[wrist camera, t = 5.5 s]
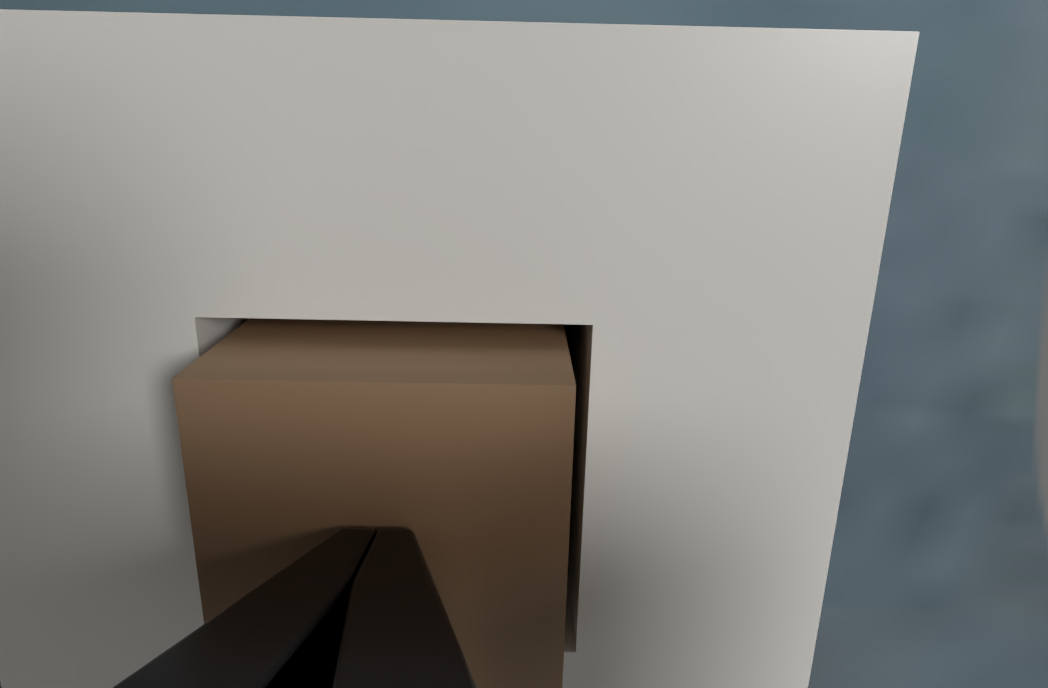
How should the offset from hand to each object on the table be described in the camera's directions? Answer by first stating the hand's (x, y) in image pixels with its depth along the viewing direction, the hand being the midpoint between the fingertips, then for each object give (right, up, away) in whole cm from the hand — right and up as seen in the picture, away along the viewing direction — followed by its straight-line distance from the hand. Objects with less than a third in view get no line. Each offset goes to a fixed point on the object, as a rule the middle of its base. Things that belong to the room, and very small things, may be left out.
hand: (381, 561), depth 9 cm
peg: (0, +2, +5) cm, 5 cm away
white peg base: (0, -3, +9) cm, 9 cm away
